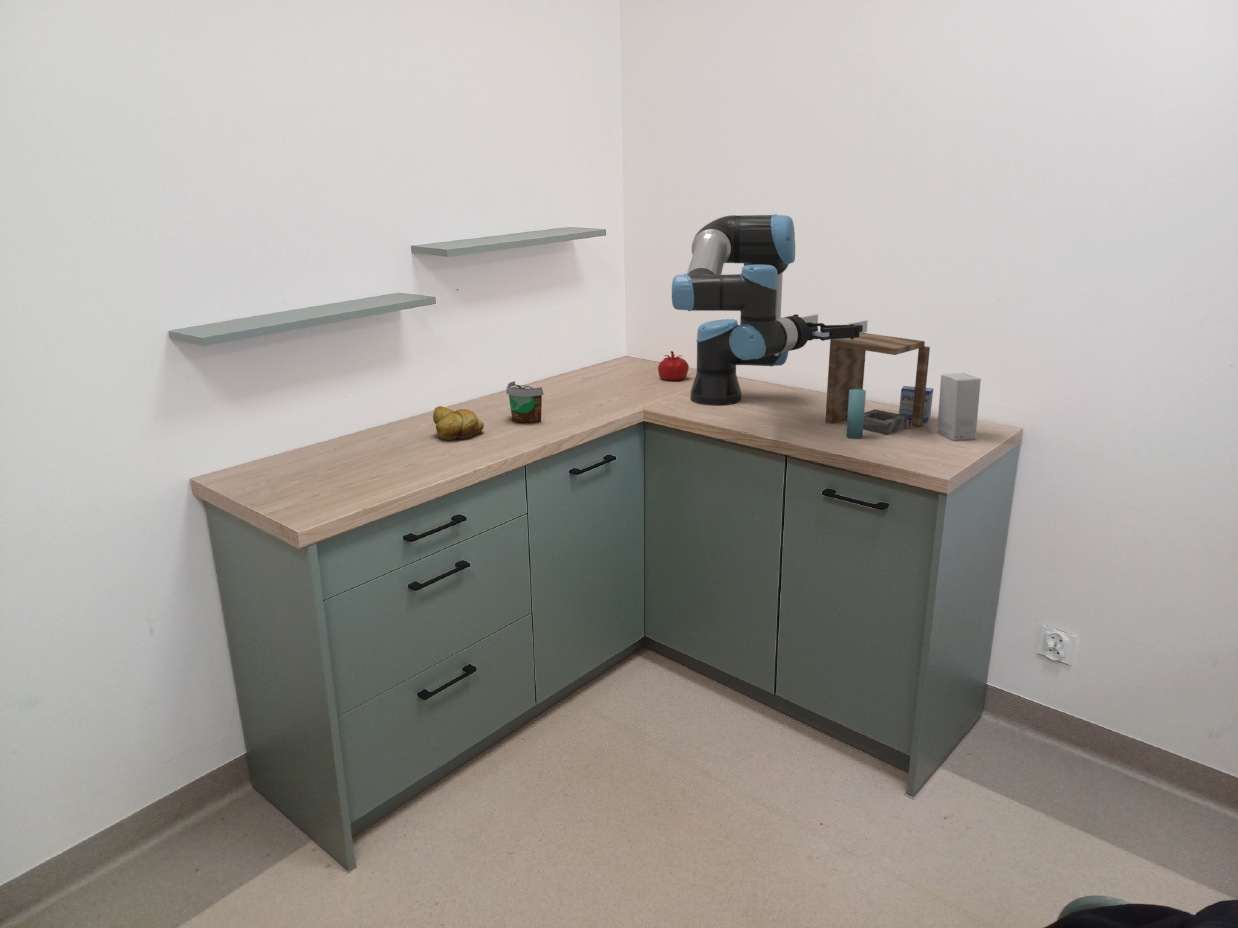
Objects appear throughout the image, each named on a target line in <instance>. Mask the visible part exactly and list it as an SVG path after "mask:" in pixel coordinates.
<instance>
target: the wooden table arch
mask: <svg viewBox="0 0 1238 928" xmlns="http://www.w3.org/2000/svg"><path fill="white" fill-rule="evenodd" d="M829 341H830V342H829V352H828V353H829V356H828V371H827V372H828V373H827V374H828V375H827V386H826V387H827V388H826V401H825V403H826V404H825V420H824V421H825V423H827V424H830V425H832V424H835V423H837V422H841V421H843V420H847V417H848V403H849V390H851V389H862V390H864V379H865V364H866V354H867V353H866V352H872V353H873V352H874V353H879V354H887V355H890V356H891V355H893V356H897V355H900V354H905V353H907V352H910V351H916V350H918V351H917V361H916V372H915V374H916V375H915V384H914V387H915V393H914V403H913V414H912V421H911V427H916V428H920V427H922V426H923V423H924V422H923V413H924V403H925V393H926V388H927V382H928V381H927V380H928V373H929V372H928V370H929V360H930V353H931V351H930V349H931V346H926V345H925V344H926V341H925V340H918V339H912V338H910V339H909V338H905V337H904V338H903V337H898V336H897V337H896V336H890V335H883V334H875V333H869V332H865V333H861V334H860V335H859V337H858V338H854V339H850V338H843V339H830V340H829ZM908 425H909V421H908V416H905V415H900V414H899V413H894V412H890V411H885V410H881V409H876V408H875V409H874V408H873V409H872V410H868V411H864V422H863V431H867V432H872V433H876V434H880V435H884V436H888V435H890V434H893V433H896V432H898V431H901V430H904V429H906V428H908Z"/></svg>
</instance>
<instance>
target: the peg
mask: <svg viewBox="0 0 1238 928" xmlns="http://www.w3.org/2000/svg"><path fill="white" fill-rule="evenodd" d="M866 392H867V391H866V390H865V389H863V390H862V389H851V390H849V403H848V417H847V419H846V431H845V432H846V433H845V437H846V438H847V439H851V440H861V439H862V438H863V432H864V430H863V422H864V413H865V407H866V395H867V393H866Z"/></svg>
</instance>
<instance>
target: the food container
mask: <svg viewBox="0 0 1238 928" xmlns="http://www.w3.org/2000/svg"><path fill="white" fill-rule="evenodd" d="M505 389H506V390H505V394H506V395H508V399H509V405H510V413H511V420H512V422H513V423H514V424H515V423H516V424H522V425H529V424H537V423H538V424H539V423H542V405H543V404H542V402H543V399H542V397H543V395H544V390H543V387H541V386H539V387H534V388H533V387H531V386H529V385H521V384H519V385H518V384H516V380H514V381H511V382H509V383H507V386H506V388H505Z"/></svg>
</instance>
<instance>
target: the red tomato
mask: <svg viewBox="0 0 1238 928" xmlns="http://www.w3.org/2000/svg"><path fill="white" fill-rule="evenodd" d="M674 353H675V352H674V351H673V350H670V355H669V354H667V355H663V356H664V358H663V359H662V360H661V361H660V362H659V364H658V367H657V371H658V376H659V377H660V379H661V380H664V381H672V382H674V381H675V382H676V381H677V382H678V381H681V380H683V379H685V378H686V377H687V375H688V374H689V373H688V372H689V368H690V366H689V364H688V362H687V361H686V360H685V359H684V358H683V355H682V354H681V355H680V354H679V355H676V356H675V354H674Z"/></svg>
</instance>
